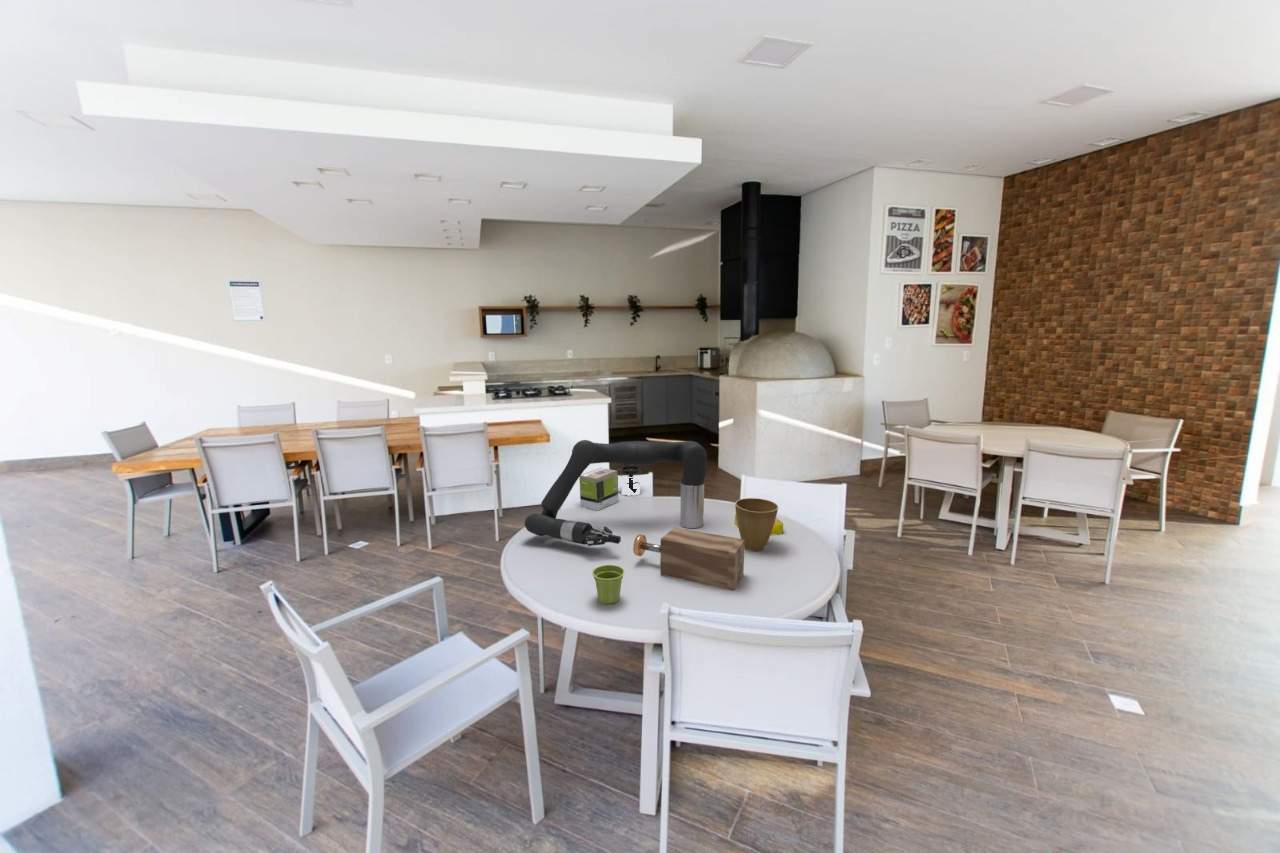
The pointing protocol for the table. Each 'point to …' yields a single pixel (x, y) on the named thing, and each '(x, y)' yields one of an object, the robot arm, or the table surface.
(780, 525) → the element tile
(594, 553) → the table surface
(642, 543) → the plunger
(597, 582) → the plant pot
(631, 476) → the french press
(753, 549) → the plant pot
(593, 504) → the tea box
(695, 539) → the box
